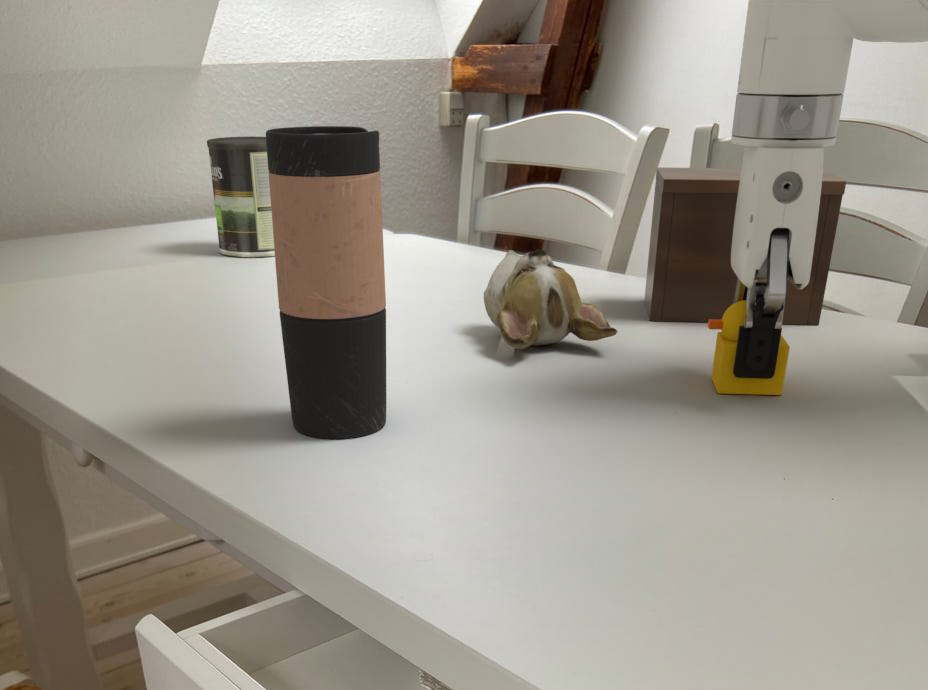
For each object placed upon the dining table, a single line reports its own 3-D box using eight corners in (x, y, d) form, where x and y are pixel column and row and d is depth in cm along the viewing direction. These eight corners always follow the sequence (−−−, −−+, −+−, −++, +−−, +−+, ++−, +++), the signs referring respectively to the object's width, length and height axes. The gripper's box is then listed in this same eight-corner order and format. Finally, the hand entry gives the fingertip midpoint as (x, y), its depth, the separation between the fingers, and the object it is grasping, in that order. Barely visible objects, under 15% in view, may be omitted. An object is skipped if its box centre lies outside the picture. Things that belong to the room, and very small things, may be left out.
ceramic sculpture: (559, 229, 100) (630, 266, 88) (553, 317, 105) (620, 362, 93) (459, 237, 97) (519, 275, 85) (458, 326, 102) (514, 374, 90)
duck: (773, 380, 86) (786, 295, 82) (781, 395, 82) (796, 307, 79) (698, 378, 86) (708, 294, 83) (703, 393, 83) (714, 306, 79)
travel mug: (270, 432, 74) (241, 132, 64) (319, 403, 81) (299, 124, 70) (362, 445, 72) (347, 135, 62) (406, 414, 78) (398, 127, 68)
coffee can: (221, 259, 135) (208, 143, 128) (217, 246, 144) (205, 137, 136) (297, 256, 137) (288, 141, 130) (289, 243, 146) (281, 135, 139)
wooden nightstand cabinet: (644, 299, 113) (656, 167, 107) (799, 302, 112) (822, 168, 105) (649, 322, 104) (663, 179, 97) (819, 326, 102) (846, 181, 95)
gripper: (865, 130, 67) (815, 400, 76) (814, 115, 81) (777, 343, 90) (749, 130, 67) (714, 397, 77) (720, 115, 82) (693, 341, 91)
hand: (748, 366), depth 83 cm, fingers closed on duck, 4 cm apart
